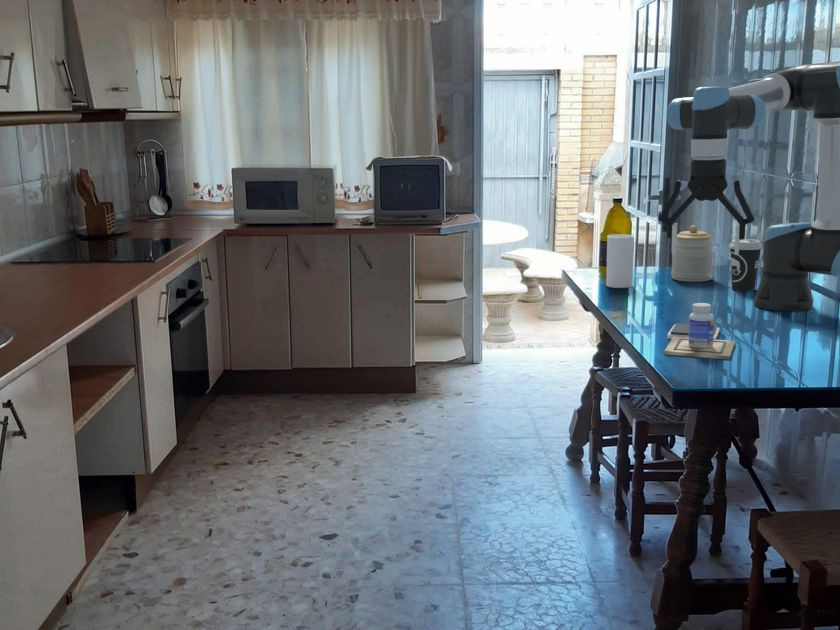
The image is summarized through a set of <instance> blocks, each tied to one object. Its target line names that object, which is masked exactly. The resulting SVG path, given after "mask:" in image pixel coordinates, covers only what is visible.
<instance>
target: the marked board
mask: <svg viewBox="0 0 840 630" xmlns="http://www.w3.org/2000/svg"><path fill="white" fill-rule="evenodd" d="M688 343H689V338H687V337H673V338H672V339H670V342H668V344H667V346H666V347H665V349H664V352H663V354H664V355H665V356H667V355H668V356H669V355H670V356H678V357H690V358H691V357H693V358H703V359H704V358H705V359H717V360H730V359H731V358H732V354H733V351H734V348H735V345H736V340H729V339H728V340H726V339H725V340H724V339H716V340H715V339H713V346H712V347H710V348H694V347H691V346H689V344H688Z"/></svg>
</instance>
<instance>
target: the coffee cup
mask: <svg viewBox="0 0 840 630" xmlns="http://www.w3.org/2000/svg"><path fill="white" fill-rule="evenodd" d="M728 248H729V249H730V266H731V267H730V268H731V269H730V270H731V272H730V273H731V289H732V290H733V291H736V290H740V291H739V292H750V291H749V290H753V289H756V283H757V275H758V271H759V270H758V269H759V264H760V263H759V262H760V257H761V251H762V250H763V245H762V244H761V241H760V240H759V239H752V238H744V240H743V239H739V254H738V255H734V254H735V239H731V243H729V245H728Z"/></svg>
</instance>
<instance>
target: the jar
mask: <svg viewBox="0 0 840 630" xmlns="http://www.w3.org/2000/svg"><path fill="white" fill-rule="evenodd" d="M712 237H713V236H712V235H711V234H709V233H708V232H706V231H702V230H701V231H699V228H698V226H697V225H691V226H690V227H689V230H684V231H680V232H679V233H677V251H676V253H672V252H671V254H672V256H671V257H672V260H671V262H672V264H671V279H673V280H675V281H680V282H689V283H693V282H695V283H699V282H708V281H711V280H712V277H713V273H714V272H713V260H714V259H713V258H714V257H713V256H714V252H713V246H714V245H715V242H713V241H712V240H711V239H712Z"/></svg>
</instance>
